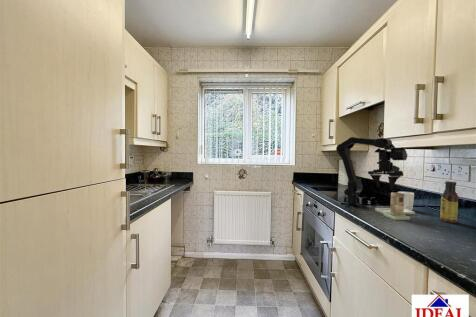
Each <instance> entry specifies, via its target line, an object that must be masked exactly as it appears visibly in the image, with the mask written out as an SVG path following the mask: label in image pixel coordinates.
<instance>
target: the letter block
mask: <svg viewBox="0 0 476 317" xmlns="http://www.w3.org/2000/svg"><path fill="white" fill-rule="evenodd" d="M398 192H399V191H397V192H391V193H390V206H389V209H390V215H392V216H395V217H403V213H404V194H403V193H398Z"/></svg>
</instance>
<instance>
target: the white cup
mask: <svg viewBox="0 0 476 317" xmlns="http://www.w3.org/2000/svg"><path fill="white" fill-rule="evenodd" d="M397 192H398V193H403V194H404V209H407V210H410V211H413V206H414V202H415V200H414V199H415V192H411V191H397Z"/></svg>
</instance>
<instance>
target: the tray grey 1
mask: <svg viewBox="0 0 476 317" xmlns="http://www.w3.org/2000/svg"><path fill="white" fill-rule="evenodd" d="M374 210H375V212H377V213H379V214H382V215H384V213H390V207H388V208H387V207H385V208H384V207H378V208H377V207H375V209H374Z"/></svg>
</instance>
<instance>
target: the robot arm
mask: <svg viewBox="0 0 476 317" xmlns="http://www.w3.org/2000/svg"><path fill="white" fill-rule="evenodd" d="M357 144H359V145H365V146H367V145H368V146H372V147H375V148H377V149H376V150H375V151H374V153H378V161H377V162H376V164H377V165H378V169H368V170H367V174H368V175H369V176H370V178H372V181H373V182H374V184H375V185H376V187H377V188H380V184H381V183H380V181H381V177H382V175H388V176H387V177H388V178H387V179H388V184H389V187H390V190H393V189H394V187H395V185H396V182H397V181H398V179H400V178H402V177H403V176H404V172H403V171H402V170H400V169H401V168H400V167H399V166H396V165H394V163H393V161H407V160H408V153H407V150H406V147H398V148H397V147H395V145H394V144H393V142H392V140H391V139H390V138H386V137H379V138H366V137H365V138H364V137H356V136H350V137H349V138H348V139H346V140H344V141H343V142H341V143H339V144H337V146H336V152H337V154H338V155H339V156H340V158H341V159H342V163H343V166H344V170H345V174H346V176H347V188H345V190H344V191H343V193H344V195H346V202H343V203H344V204H345V205H348V206H360V204H359V203H358V195H360V194H361V192H362V190H363V189H364V188H363V187H364V185H363V183H362V180H361V179H358V178H357V175H356V172H355V168H354V165H353V163H352V160H351V149H352V148H354V146H355V145H357ZM391 160H392V162H391Z"/></svg>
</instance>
